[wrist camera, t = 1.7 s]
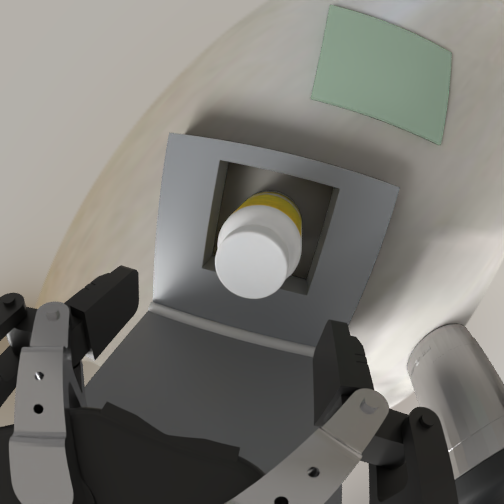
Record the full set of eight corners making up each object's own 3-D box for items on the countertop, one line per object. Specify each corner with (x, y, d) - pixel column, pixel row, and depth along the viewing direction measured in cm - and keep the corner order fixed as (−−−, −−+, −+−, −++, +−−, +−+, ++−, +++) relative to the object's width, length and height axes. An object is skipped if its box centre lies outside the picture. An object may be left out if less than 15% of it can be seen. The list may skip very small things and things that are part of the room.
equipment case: (387, 182, 21) (568, 282, 3) (328, 342, 27) (334, 519, 10) (184, 134, 22) (-26, 139, 4) (165, 298, 28) (58, 434, 11)
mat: (449, 54, 15) (451, 52, 14) (438, 145, 18) (440, 145, 18) (329, 7, 16) (329, 4, 15) (310, 99, 19) (310, 98, 19)
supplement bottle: (238, 189, 23) (198, 215, 14) (302, 190, 22) (305, 218, 13) (240, 249, 25) (206, 306, 16) (300, 251, 24) (299, 313, 15)
